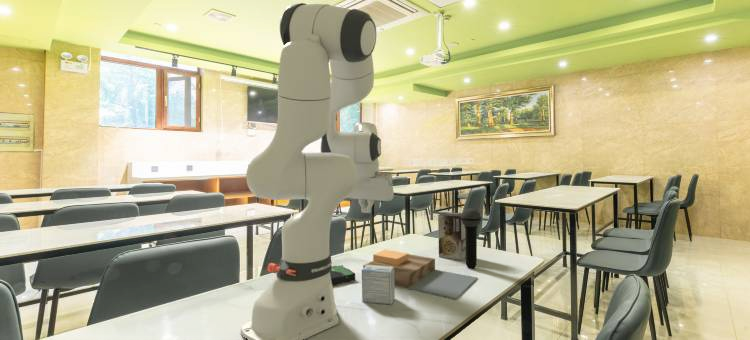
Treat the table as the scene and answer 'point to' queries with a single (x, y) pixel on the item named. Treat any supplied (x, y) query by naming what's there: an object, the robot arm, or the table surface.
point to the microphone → (471, 235)
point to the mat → (444, 284)
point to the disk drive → (341, 275)
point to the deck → (409, 270)
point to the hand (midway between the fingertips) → (366, 212)
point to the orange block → (390, 257)
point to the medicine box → (378, 284)
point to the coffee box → (451, 236)
